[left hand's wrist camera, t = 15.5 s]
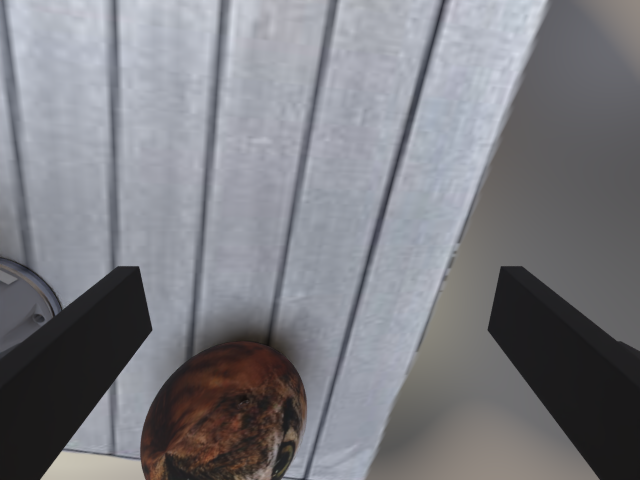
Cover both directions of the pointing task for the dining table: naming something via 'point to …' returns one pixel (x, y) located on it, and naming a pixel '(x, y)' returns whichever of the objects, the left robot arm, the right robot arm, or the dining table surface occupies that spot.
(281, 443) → the cat face balloon
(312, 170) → the dining table surface
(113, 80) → the dining table surface
